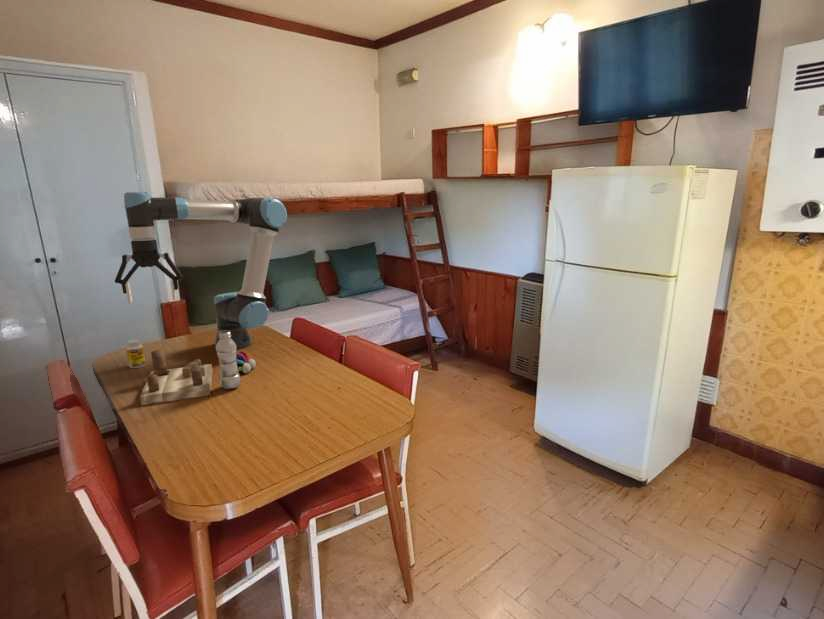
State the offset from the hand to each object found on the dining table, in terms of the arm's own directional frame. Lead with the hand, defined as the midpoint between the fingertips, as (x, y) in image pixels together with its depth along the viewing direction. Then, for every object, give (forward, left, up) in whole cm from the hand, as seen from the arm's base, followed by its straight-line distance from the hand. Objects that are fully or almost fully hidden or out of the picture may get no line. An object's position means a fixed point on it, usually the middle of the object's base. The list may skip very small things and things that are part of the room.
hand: (153, 300), depth 159 cm
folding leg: (-10, +7, -25) cm, 28 cm away
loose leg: (0, +4, -28) cm, 29 cm away
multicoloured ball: (-26, +3, -29) cm, 39 cm away
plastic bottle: (-23, +18, -29) cm, 41 cm away
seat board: (-6, +11, -29) cm, 31 cm away
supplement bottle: (+11, -17, -29) cm, 35 cm away
